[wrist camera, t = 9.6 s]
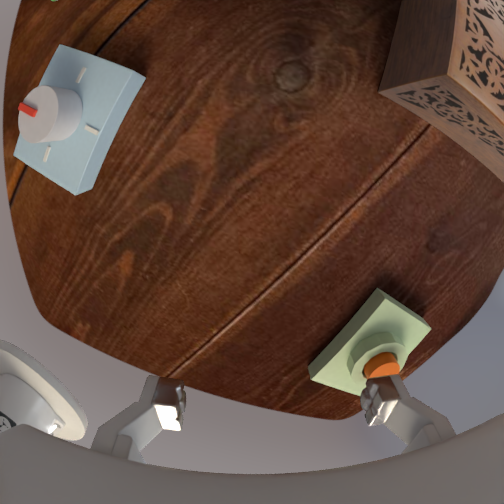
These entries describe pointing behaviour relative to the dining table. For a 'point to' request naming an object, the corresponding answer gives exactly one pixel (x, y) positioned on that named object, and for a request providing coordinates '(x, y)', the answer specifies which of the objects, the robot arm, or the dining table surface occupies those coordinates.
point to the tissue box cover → (452, 72)
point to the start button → (381, 365)
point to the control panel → (83, 117)
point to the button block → (368, 342)
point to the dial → (49, 114)
